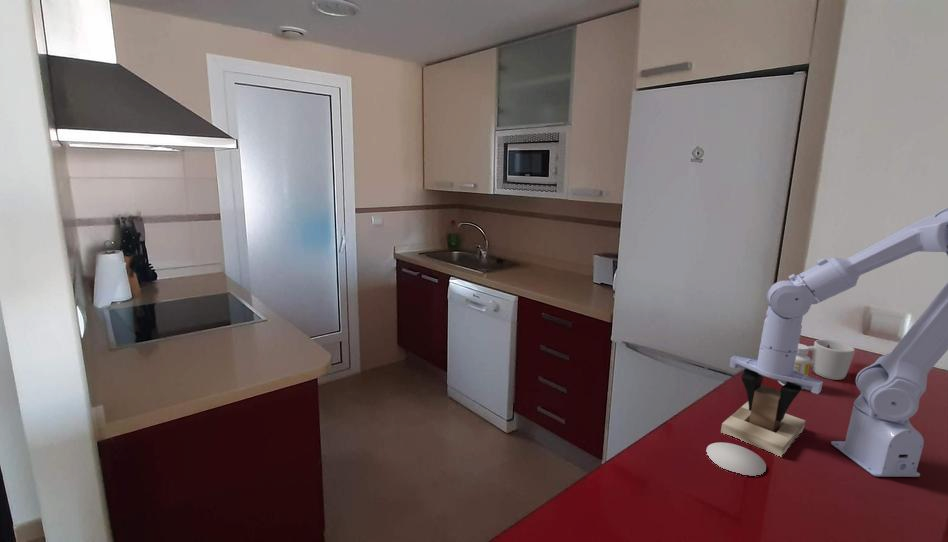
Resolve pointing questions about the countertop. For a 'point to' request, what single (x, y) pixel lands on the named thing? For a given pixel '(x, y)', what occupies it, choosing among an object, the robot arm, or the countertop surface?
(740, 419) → the holder block
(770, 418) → the plug peg
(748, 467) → the coaster
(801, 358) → the supplement bottle
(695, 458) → the countertop surface
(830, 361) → the cup
